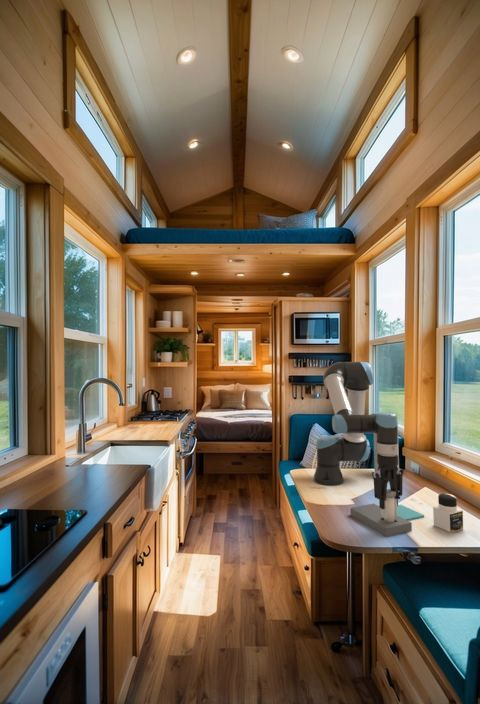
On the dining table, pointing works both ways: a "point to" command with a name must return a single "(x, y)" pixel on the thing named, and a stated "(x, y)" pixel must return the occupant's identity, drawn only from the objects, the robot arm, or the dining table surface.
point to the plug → (390, 505)
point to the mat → (408, 513)
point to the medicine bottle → (448, 514)
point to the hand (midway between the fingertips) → (389, 515)
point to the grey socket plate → (380, 520)
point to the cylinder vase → (377, 453)
